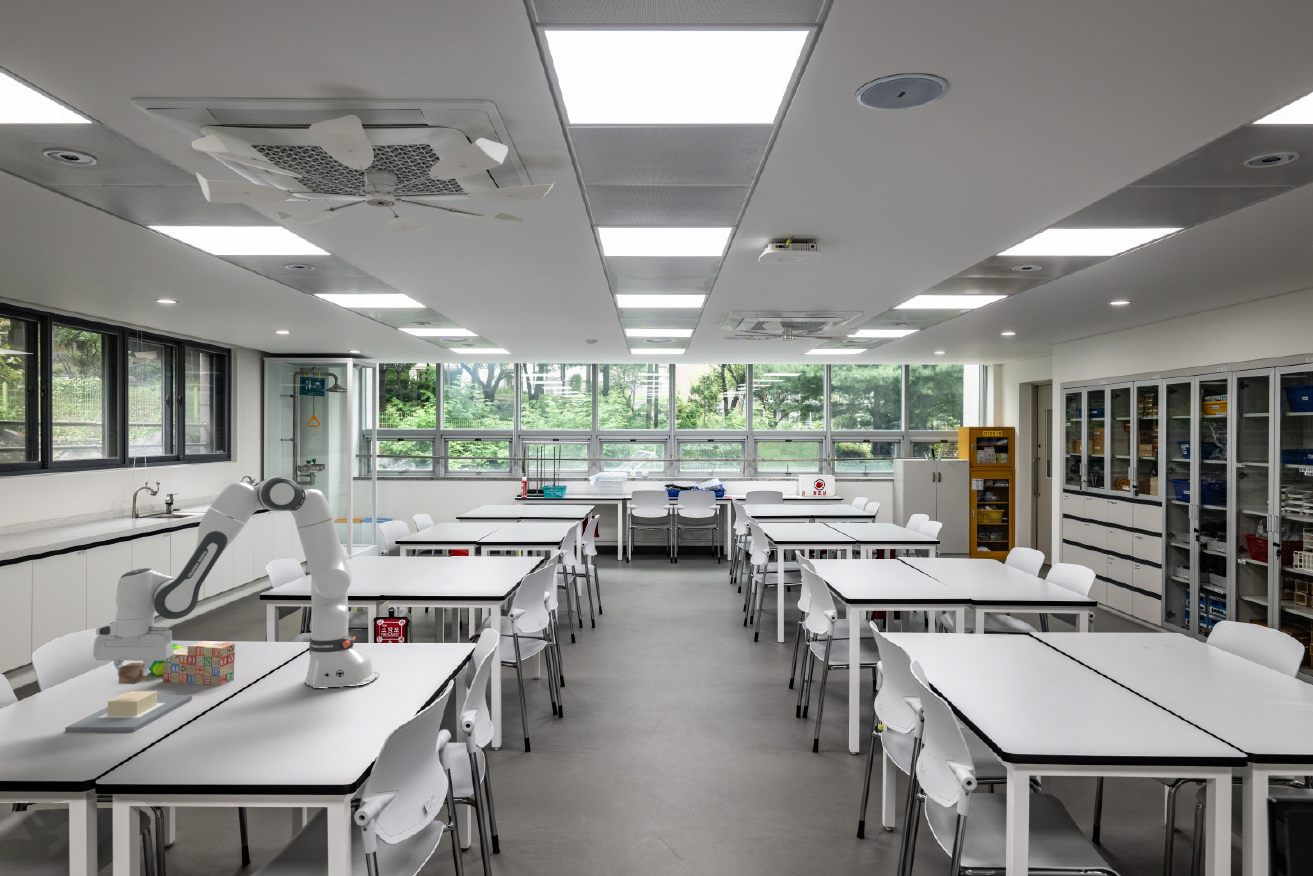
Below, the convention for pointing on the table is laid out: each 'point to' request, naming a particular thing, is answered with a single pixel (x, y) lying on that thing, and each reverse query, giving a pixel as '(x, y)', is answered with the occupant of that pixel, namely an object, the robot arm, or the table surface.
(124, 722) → the board
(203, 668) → the stack of blocks
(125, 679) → the walnut cube
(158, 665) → the molecule model
